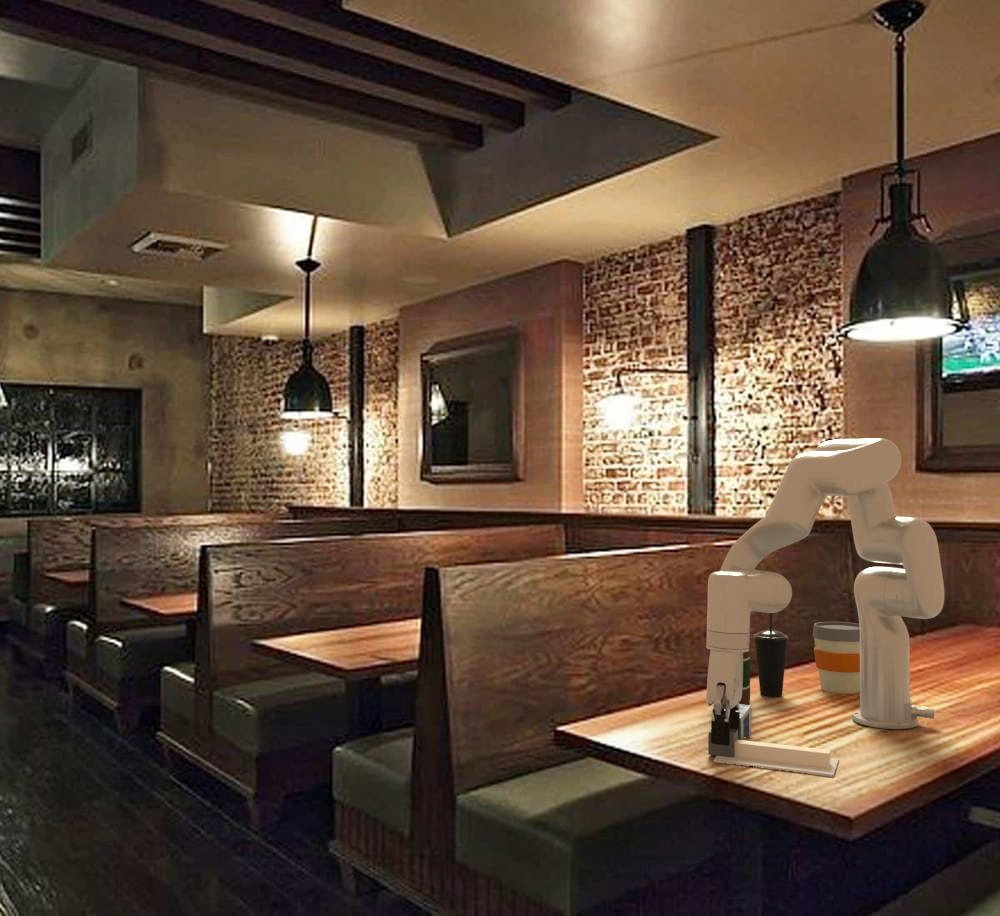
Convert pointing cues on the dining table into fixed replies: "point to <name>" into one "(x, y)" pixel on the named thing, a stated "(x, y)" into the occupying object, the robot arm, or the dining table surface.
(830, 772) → the mat
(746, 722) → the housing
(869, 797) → the dining table surface
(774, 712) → the dining table surface
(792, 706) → the dining table surface
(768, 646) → the drinking cup
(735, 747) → the cream rectangular bar
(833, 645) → the reusable coffee cup
